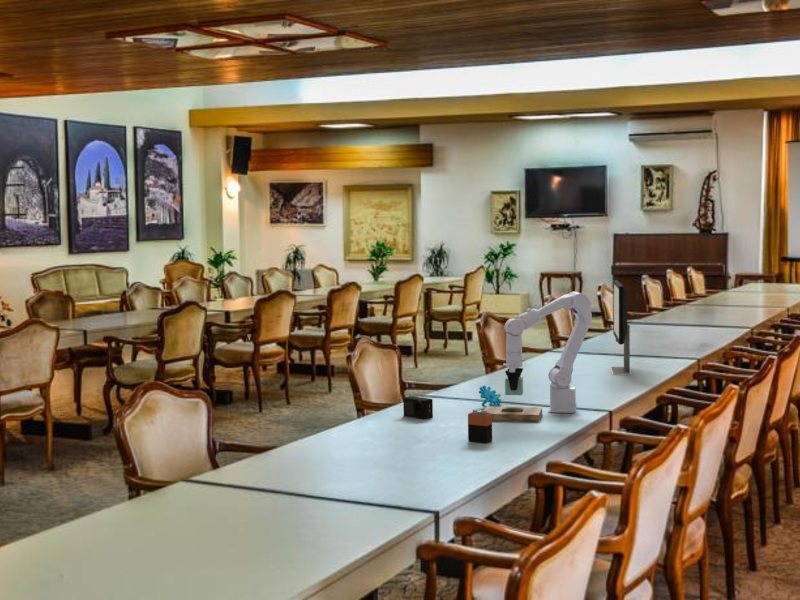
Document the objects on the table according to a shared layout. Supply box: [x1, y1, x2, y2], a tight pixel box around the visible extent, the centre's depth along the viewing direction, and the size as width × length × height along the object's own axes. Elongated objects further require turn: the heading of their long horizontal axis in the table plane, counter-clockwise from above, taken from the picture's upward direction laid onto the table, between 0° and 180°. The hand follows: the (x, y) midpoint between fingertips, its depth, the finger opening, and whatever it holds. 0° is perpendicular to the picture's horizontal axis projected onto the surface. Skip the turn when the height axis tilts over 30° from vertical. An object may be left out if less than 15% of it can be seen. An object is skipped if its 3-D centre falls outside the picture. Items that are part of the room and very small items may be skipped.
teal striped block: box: [504, 376, 524, 396], centre depth 382 cm, size 6×4×6 cm, turn 77°
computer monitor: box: [609, 279, 632, 376], centre depth 474 cm, size 41×8×40 cm, turn 172°
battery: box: [467, 409, 493, 444], centre depth 337 cm, size 4×7×10 cm, turn 58°
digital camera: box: [402, 395, 434, 420], centre depth 378 cm, size 10×5×7 cm, turn 49°
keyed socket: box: [484, 405, 543, 423], centre depth 375 cm, size 20×14×2 cm
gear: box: [478, 385, 502, 407], centre depth 398 cm, size 11×6×10 cm
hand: (514, 389), depth 382 cm, fingers closed on teal striped block, 4 cm apart
